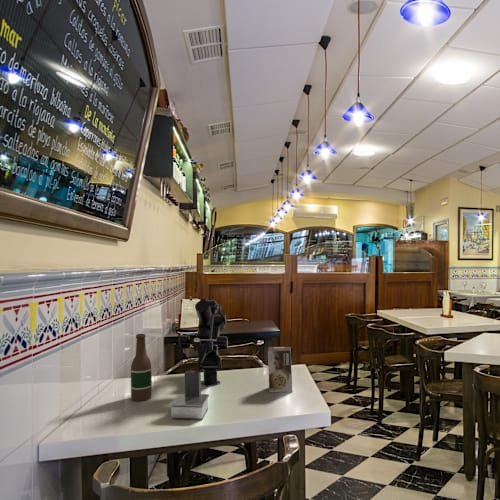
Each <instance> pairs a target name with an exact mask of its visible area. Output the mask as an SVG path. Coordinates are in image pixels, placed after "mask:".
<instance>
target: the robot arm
mask: <svg viewBox="0 0 500 500" xmlns="http://www.w3.org/2000/svg"><path fill="white" fill-rule="evenodd" d="M194 308H195V312H196V315H197V318H198V327H197V333H196V337H195V338H191V337H190V335H183V334H182V335H179V336H178V339H177V340H178V346H179V349H181V350H184V349H185V350H189V349H190V348H191V345H192V346H193V350H194V351H196V352H197V355H198V357H197V358H198V369H199V370H198V371H201V370H203V371H202V372H203V380H201V384H202V385H204V386H206V387H209V386H214V385H219V384H221V381H220V380H218V370H221V369H222V368H223V367H222V366H223V365H222V358H221V356H220V354H219V350H220V351H227V350H228V349H229V341H228V339H229V338H228V337H227V336H222V335H221V332H223V331H224V329H225V328H226V325H227V314H226V312H225V311H224V309H222V304H221V303H217V301H216V300H215V299H213V300H212V299H211V300H209V299H207V298H205V297H204V298H200V300H199V301H197V302H196V303H195V304H194ZM216 314H219V315H216ZM220 335H221V336H220Z"/></svg>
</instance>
